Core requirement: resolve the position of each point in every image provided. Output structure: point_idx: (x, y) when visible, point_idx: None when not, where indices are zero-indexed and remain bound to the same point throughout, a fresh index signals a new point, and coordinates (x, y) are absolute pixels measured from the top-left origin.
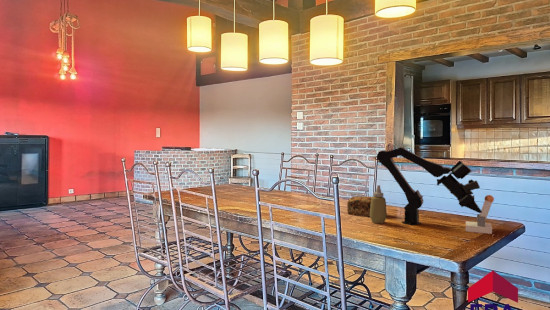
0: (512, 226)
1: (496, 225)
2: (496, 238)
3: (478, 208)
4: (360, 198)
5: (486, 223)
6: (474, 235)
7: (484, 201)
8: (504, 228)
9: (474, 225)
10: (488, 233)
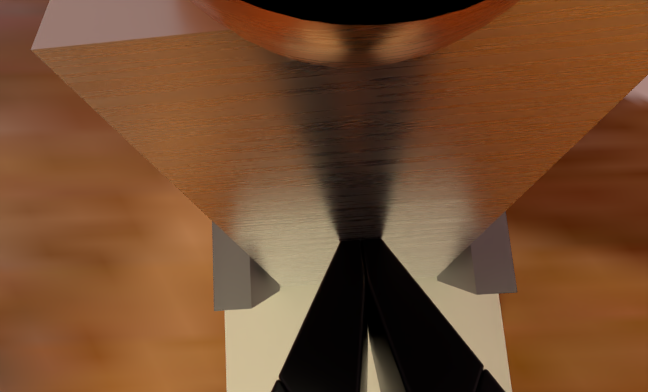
0: (29, 8)
1: (45, 125)
2: (621, 109)
3: (424, 306)
4: None
5: None
6: (628, 291)
7: (197, 124)
8: None
9: (440, 311)
10: None
